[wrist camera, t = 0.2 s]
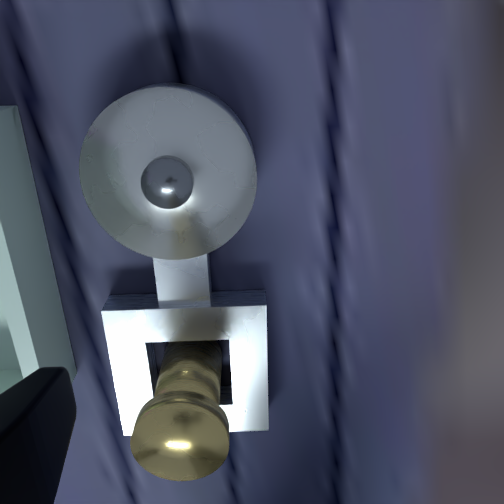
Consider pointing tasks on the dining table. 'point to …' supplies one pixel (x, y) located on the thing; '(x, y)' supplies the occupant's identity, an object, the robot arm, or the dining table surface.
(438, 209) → the dining table surface
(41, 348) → the parts tray
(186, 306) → the tensioner bracket
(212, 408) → the pin
